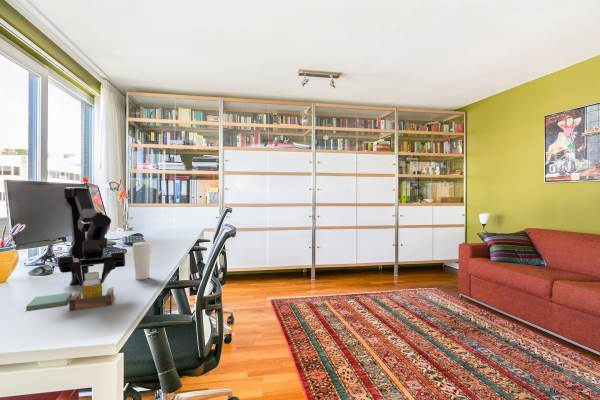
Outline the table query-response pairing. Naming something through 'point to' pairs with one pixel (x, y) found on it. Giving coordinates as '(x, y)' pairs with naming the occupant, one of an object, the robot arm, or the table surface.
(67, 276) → the table surface
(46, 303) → the green mat
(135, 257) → the white tall cylinder
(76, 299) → the frame
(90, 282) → the supplement bottle
